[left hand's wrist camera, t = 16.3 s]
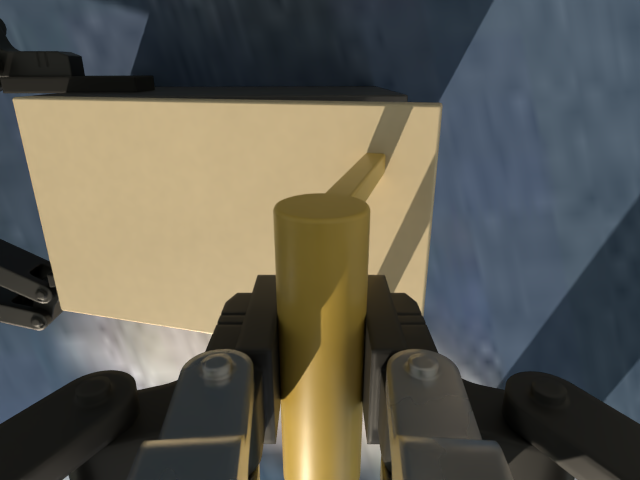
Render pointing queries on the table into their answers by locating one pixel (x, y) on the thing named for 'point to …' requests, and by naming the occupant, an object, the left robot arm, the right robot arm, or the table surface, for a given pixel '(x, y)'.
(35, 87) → the right robot arm
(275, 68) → the table surface
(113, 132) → the lid
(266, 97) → the chest
